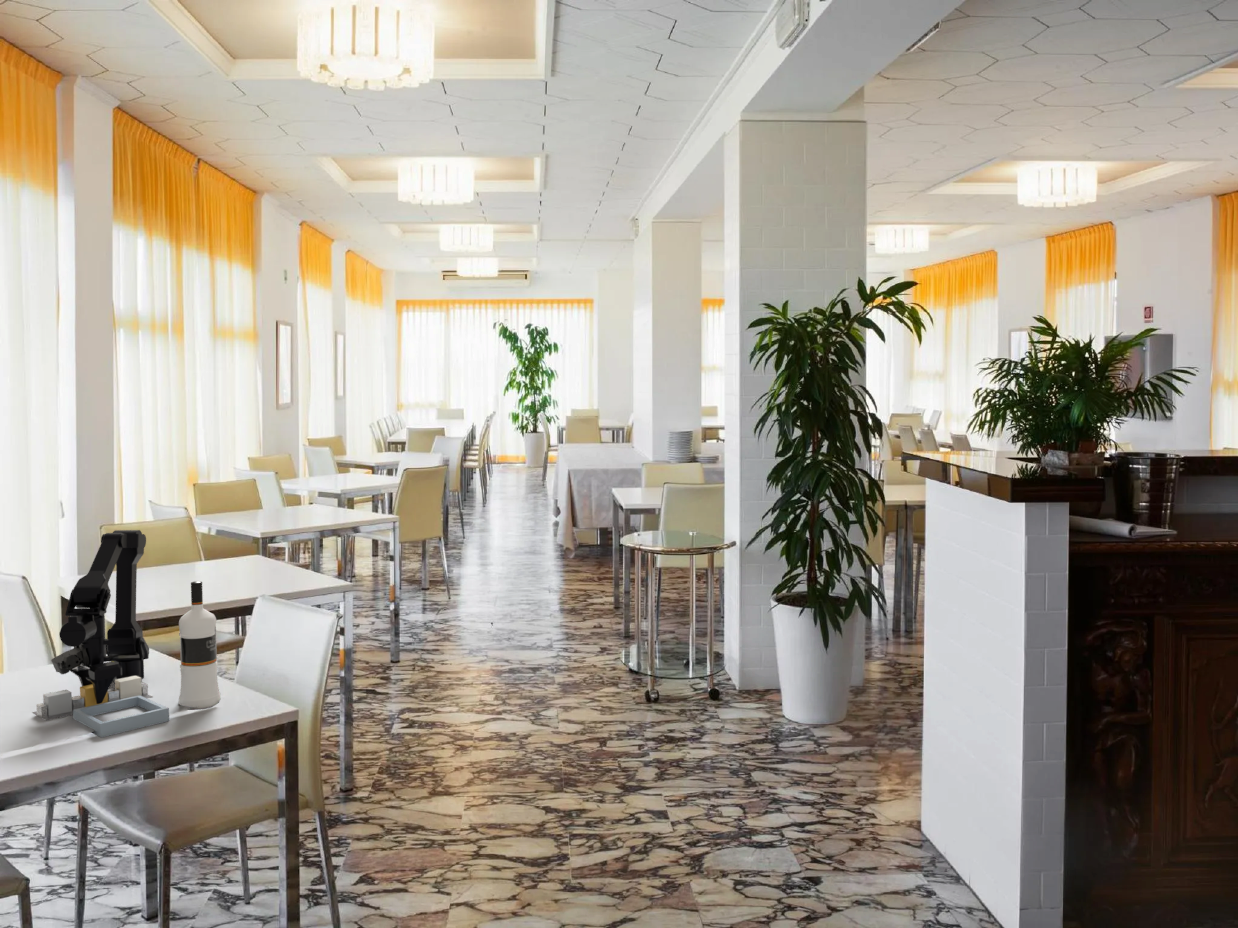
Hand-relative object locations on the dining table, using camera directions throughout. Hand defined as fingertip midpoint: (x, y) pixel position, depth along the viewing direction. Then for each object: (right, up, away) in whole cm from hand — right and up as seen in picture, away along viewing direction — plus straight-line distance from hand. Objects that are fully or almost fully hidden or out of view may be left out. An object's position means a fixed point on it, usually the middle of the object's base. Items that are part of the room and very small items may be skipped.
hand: (94, 700), depth 241 cm
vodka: (+24, -2, +3) cm, 24 cm away
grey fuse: (-5, -1, -6) cm, 8 cm away
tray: (+11, -3, -10) cm, 15 cm away
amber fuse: (0, -1, 0) cm, 1 cm away
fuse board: (0, -2, 0) cm, 2 cm away
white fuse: (+5, 0, +6) cm, 8 cm away
